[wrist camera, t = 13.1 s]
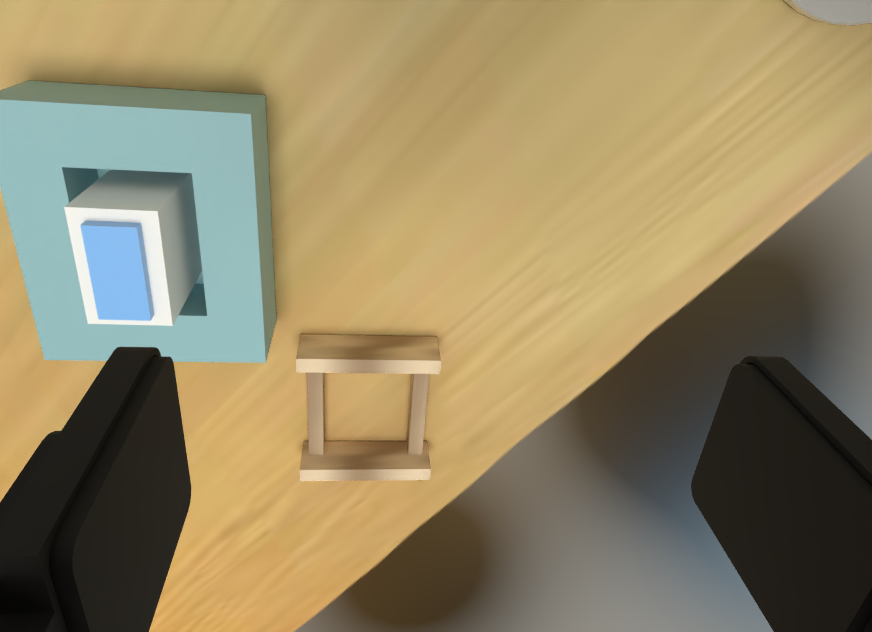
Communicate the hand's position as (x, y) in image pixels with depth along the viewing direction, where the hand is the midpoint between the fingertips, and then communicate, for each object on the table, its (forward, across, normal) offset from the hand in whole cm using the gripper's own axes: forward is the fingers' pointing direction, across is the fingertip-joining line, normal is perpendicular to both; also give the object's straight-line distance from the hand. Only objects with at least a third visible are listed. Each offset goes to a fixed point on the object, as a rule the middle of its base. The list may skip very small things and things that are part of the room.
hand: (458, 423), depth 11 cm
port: (+28, +13, +7) cm, 32 cm away
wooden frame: (+28, +1, +20) cm, 35 cm away
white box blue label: (+27, +13, +7) cm, 31 cm away
